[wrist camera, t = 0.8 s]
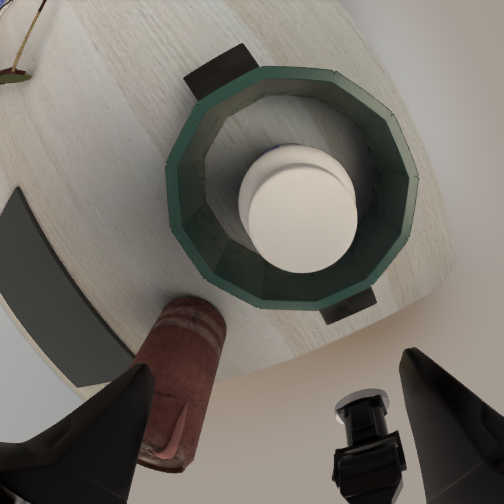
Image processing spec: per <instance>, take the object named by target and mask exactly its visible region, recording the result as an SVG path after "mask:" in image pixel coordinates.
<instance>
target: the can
mask: <svg viewBox="0 0 504 504" xmlns="http://www.w3.org/2000/svg"><path fill="white" fill-rule="evenodd" d="M225 337H226V324H225V321H224V319H223V317H222V316H221V314H220V313H219V312H218V311H217V309H216V308H215V307H213V306H212V305H211V304H209V303H208V302H206V301H204V300H201V299H199V298H192V297H185V298H178V299H175V300H173V301H171V302H169V303H168V304H167V305H166V306H165V308H164V309H163V311H162V312H161V314H160V316H159V317H158V319H157V321H156V322H155V324H154V326H153V327H152V329H151V331H150V332H149V334H148V336H147V337H146V339H145V341H144V343H143V344H142V346H141V348H140V350H139V351H138V353H137V355H136V357H135V358H134V360H133V362H132V364H131V365H130V367H132V366H133V365H134V364H136V363H146V364H147V365H148V366H149V367H150V369H151V371H152V373H153V375H154V376H155V379H156V385H155V390H154V395H153V401H152V406H151V412H150V417H149V420H148V424H147V427H146V431H145V434H144V438H143V441H142V445H141V449H140V452H139V456H138V460H137V464H139V465H142V466H144V467H147V468H150V469H153V470H156V471H161V472H166V473H182V472H183V471H184V470H185V468H186V467H187V466H188V465H189V464H190V463H191V462H192V461H193V460H194V456H195V453H196V449H197V445H198V441H199V437H200V433H201V429H202V425H203V421H204V418H205V414H206V410H207V406H208V402H209V398H210V395H211V391H212V387H213V383H214V379H215V375H216V371H217V368H218V364H219V360H220V356H221V352H222V349H223V345H224V341H225ZM130 367H129V368H130Z"/></svg>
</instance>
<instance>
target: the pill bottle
mask: <svg viewBox="0 0 504 504" xmlns="http://www.w3.org/2000/svg"><path fill="white" fill-rule="evenodd" d="M355 205H356V200H355V192H354V188H353V184H352V182H351V179H350V177H349V176H348V174H347V172H346V171H345V169H344V168H343V167H342V166H341V164H340V163H339V162H338V161H337V160H335V159H334V158H333V157H332V156H330V155H329V154H327V153H325V152H323V151H321V150H319V149H316V148H313V147H310V146H304V145H299V144H281V145H277V146H274V147H272V148H270V149H268V150H267V151H265V152H264V153H263V154H262V155H261V156H260V157H259V158H258V159H257V160H256V161H255V162H254V163H253V164H252V166H251V167H250V168H249V170H248V171H247V173H246V175H245V177H244V179H243V181H242V184H241V187H240V192H239V198H238V208H239V214H240V219H241V222H242V224H243V226H244V228H245V230H246V232H247V234H248V235H249V237H250V238H251V240H252V242H253V244H254V246H255V248H256V249H257V251H258V252H259V253H260V254H261V256H262V257H263V258H264V259H266V260H267V261H268V262H269V263H271V264H272V265H274V266H276V267H278V268H280V269H282V270H286V271H289V272H294V273H310V272H315V271H319V270H322V269H324V268H326V267H328V266H330V265H332V264H333V263H335V262H336V261H337V260H339V259H340V258H341V257H342V256H343V255H344V254H345V253H346V251H347V250H348V248H349V247H350V245H351V243H352V241H353V239H354V236H355V233H356V228H357V209H356V206H355Z"/></svg>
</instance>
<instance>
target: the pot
mask: <svg viewBox="0 0 504 504" xmlns="http://www.w3.org/2000/svg"><path fill="white" fill-rule="evenodd" d="M183 79H184V81H185V82H186V84H187V85H188V87H189V88H190V90H191V91H192V93H193V95H194V96H195V98H196V99H197V101H198V104H196V105H195V106H194V108H193V110H192V112H191V113H190V115H189V117H188V119H187V121H186V123H185V125H184V127H183V129H182V130H181V132H180V134H179V136H178V138H177V140H176V142H175V144H174V146H173V148H172V150H171V153H170V155H169V157H168V159H167V161H166V164H168V165H166V166H165V171H166V186H167V199H168V210H169V221H170V228H172V229H171V231H172V233H173V234H174V236H175V237H176V239H177V240H178V242H179V243H180V245H181V246H182V247H183V249H184V250H185V252H186V253H187V255H188V256H189V258H190V259H191V261H192V262H193V264H194V265H195V266H196V268H197V269H198V271H199V272H200V274H201V275H202V276H203V278H204V279H207V281H208V282H210V283H211V284H213V285H215V286H217V287H219V288H221V289H222V290H224V291H226V292H228V293H230V294H232V295H234V296H235V297H237V298H239V299H241V300H243V301H245V302H247V303H249V304H251V305H252V306H254V307H256V308H258V307H259V309H276V310H306V311H317V309H318V310H319V311H320V313H321V315H322V317H323V318H324V320H325V322H326V324H327V325H329V324H331V323H334V322H336V321H339V320H341V319H343V318H345V317H348V316H350V315H352V314H355V313H357V312H359V311H361V310H363V309H366V308H368V307H370V306H372V305H374V304H376V303H377V301H376V298H375V295H374V293H373V290H372V287H371V285H373V284H374V283H375V282H376V281H377V279H378V278H379V277H380V276H381V275H382V273H383V272H384V271H385V270H386V268H387V267H388V266H389V265H390V263H391V262H392V261H393V259H394V258H395V257H396V256H397V254H398V253H399V252H400V250H401V249H402V248H403V246H404V245H405V244H406V242H407V241H408V238H409V237H410V232H411V227H412V222H413V216H414V210H415V203H416V196H417V189H418V181H419V177H418V175H419V174H418V171H417V168H416V166H415V163H414V160H413V157H412V155H411V152H410V150H409V147H408V145H407V142H406V140H405V137H404V135H403V133H402V130H401V128H400V126H399V124H398V121H397V119H396V117H395V115H394V114H392V111H391V110H389V109H388V108H387V107H386V106H384V105H383V104H382V103H381V102H379V101H378V100H377V99H375V98H374V97H373V96H372V95H370V94H369V93H367V92H366V91H365V90H363V89H362V88H361V87H359V86H358V85H356V84H355V83H353V82H352V81H350V80H349V79H347V78H346V77H344V76H343V75H341V74H340V73H338V72H337V71H335V72H334V71H333V70H328V69H318V68H306V67H287V66H262V67H261V68H260V67H259V65H258V64H257V62H256V61H255V59H254V58H253V56H252V55H251V54H250V52H249V51H248V49H247V48H246V47H245V45H244V44H243V43H241V44H239V45H238V46H236V47H234V48H232V49H230V50H228V51H226V52H225V53H223V54H221V55H219V56H218V57H216V58H214V59H212V60H211V61H209V62H207V63H206V64H204V65H202V66H201V67H199V68H198V69H196V70H194V71H193V72H191V73H190V74H188V75H187V76H185V77H184V78H183ZM267 95H290V96H308V97H317V98H319V99H320V100H322V101H323V102H325V103H326V104H328V105H329V106H331V107H333V108H334V109H336V110H337V111H339V112H340V113H341V114H343V115H344V116H346V117H347V118H349V119H350V120H351V121H353V122H354V123H356V125H357V127H358V129H359V131H360V133H361V135H362V137H363V139H364V141H365V143H366V145H367V147H368V150H369V152H370V154H371V156H372V158H373V161H374V163H375V165H376V166H375V178H374V188H373V197H372V206H371V210H370V211H369V212H368V214H367V215H366V217H365V218H364V219H363V221H362V222H361V224H360V225H359V226H358V228H357V229H356V233H355V236H354V239H353V241H352V243H351V245H350V247H349V248H348V250H347V251H346V253H345V254H344V255H343V256H342V257H341V258H340V259H339V260H337V261H336V262H335V263H333V264H332V265H330V266H328V267H326V268H324V269H322V270H319V271H315V272H310V273H294V272H289V271H286V270H282V269H280V268H278V267H276V266H274V265H272V264H271V263H269V262H268V261H267V260H266V259H264V258H263V257H261V256H259V255H257V254H256V253H254V252H252V251H250V250H249V249H247V248H245V247H243V246H242V245H240V244H238V243H236V242H235V241H233V240H231V239H229V237H228V236H227V234H226V233H225V231H224V229H223V228H222V226H221V225H220V223H219V221H218V220H217V218H216V217H215V215H214V213H213V212H212V210H211V209H210V207H209V205H208V204H207V202H206V189H205V162H204V158H205V156H206V154H207V152H208V150H209V148H210V146H211V145H212V143H213V141H214V139H215V137H216V136H217V134H218V132H219V130H220V129H221V127H222V125H223V123H224V122H225V120H226V118H227V117H229V116H231V115H233V114H234V113H236V112H238V111H240V110H241V109H243V108H245V107H247V106H248V105H250V104H252V103H254V102H256V101H258V100H260V99H261V98H263V97H265V96H267Z"/></svg>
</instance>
